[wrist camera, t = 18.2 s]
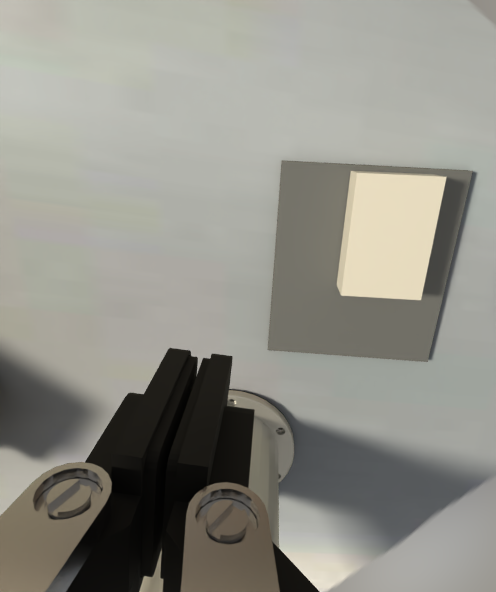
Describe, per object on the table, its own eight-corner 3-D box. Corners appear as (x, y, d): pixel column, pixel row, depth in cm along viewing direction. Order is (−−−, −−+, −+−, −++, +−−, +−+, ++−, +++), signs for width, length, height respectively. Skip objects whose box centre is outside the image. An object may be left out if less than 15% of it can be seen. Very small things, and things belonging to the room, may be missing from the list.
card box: (336, 284, 33) (410, 288, 33) (341, 295, 31) (420, 300, 30) (350, 170, 30) (432, 174, 30) (357, 172, 27) (446, 176, 27)
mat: (425, 358, 36) (427, 361, 35) (268, 346, 36) (267, 350, 36) (469, 170, 30) (472, 171, 29) (281, 160, 30) (281, 160, 30)
